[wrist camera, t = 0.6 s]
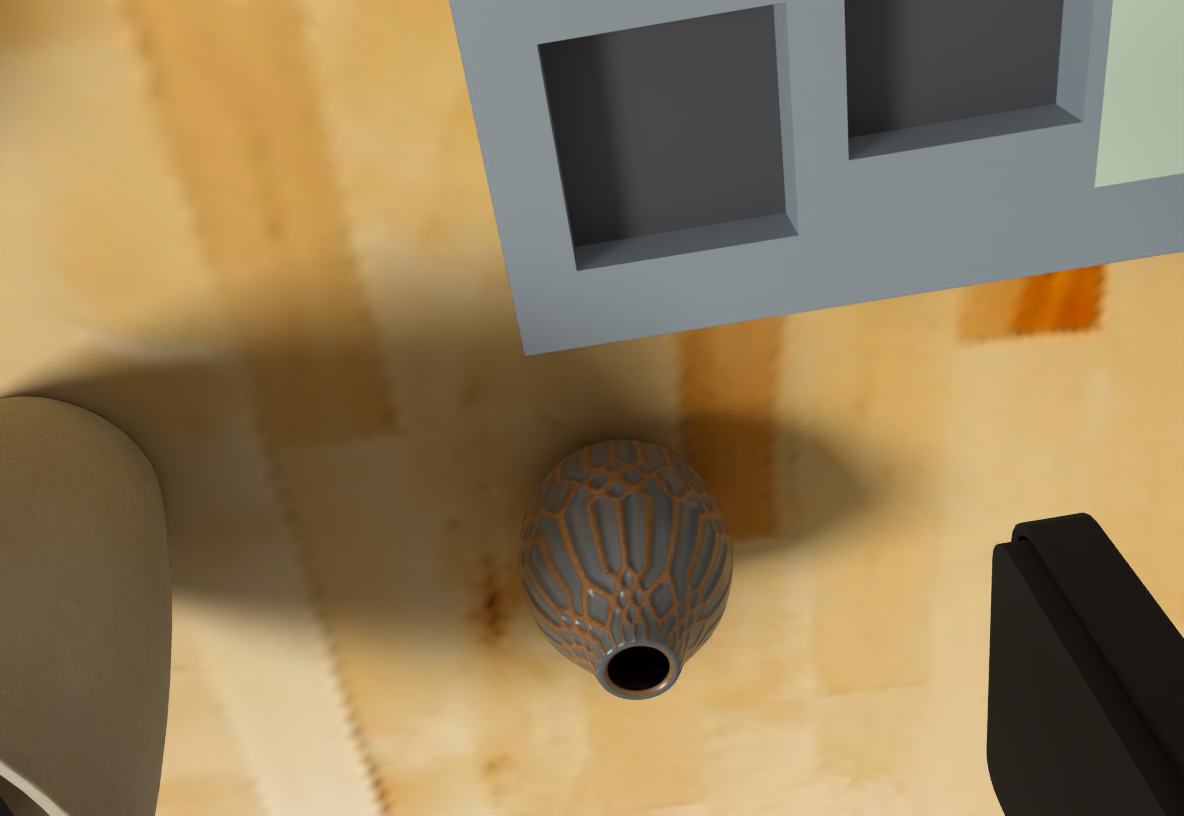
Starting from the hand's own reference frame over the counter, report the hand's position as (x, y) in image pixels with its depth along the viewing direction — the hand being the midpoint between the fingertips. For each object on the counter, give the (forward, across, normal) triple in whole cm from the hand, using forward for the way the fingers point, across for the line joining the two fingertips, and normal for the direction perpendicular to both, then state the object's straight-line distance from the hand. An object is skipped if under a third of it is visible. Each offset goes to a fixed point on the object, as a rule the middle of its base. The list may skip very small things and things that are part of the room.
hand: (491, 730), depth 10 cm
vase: (+24, 0, +15) cm, 28 cm away
